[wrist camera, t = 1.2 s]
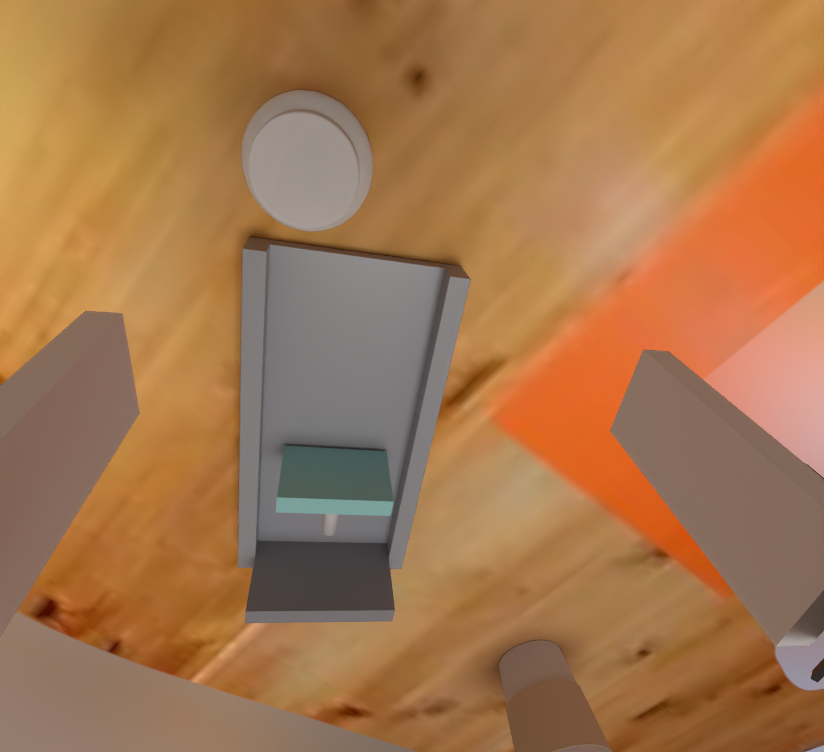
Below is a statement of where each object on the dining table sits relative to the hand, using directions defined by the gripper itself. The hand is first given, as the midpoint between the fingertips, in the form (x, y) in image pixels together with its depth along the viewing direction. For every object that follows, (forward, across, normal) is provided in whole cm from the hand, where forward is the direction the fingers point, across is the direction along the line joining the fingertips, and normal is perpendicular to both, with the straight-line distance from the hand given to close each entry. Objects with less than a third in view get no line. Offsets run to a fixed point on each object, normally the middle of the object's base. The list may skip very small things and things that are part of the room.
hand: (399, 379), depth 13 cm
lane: (+18, -1, -14) cm, 22 cm away
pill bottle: (+18, -3, +3) cm, 19 cm away
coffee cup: (+17, +21, -44) cm, 52 cm away
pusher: (+16, -1, -18) cm, 24 cm away
